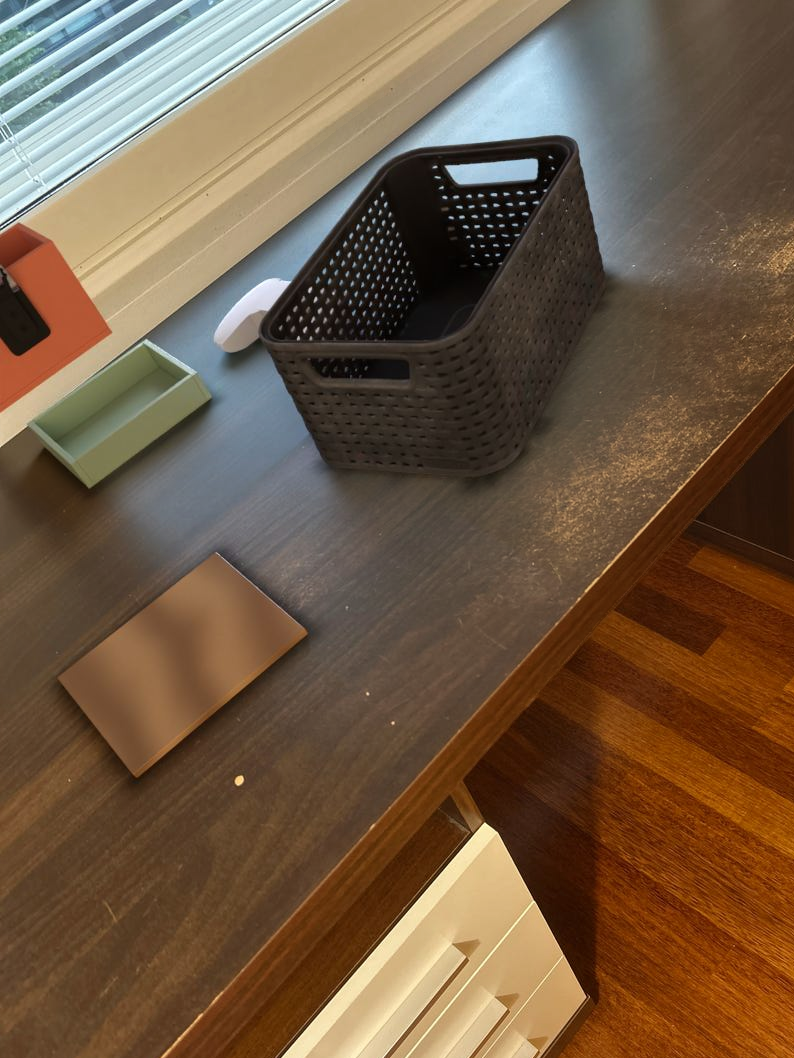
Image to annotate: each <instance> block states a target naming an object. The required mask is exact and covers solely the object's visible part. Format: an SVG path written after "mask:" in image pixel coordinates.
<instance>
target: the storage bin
mask: <svg viewBox="0 0 794 1058" xmlns="http://www.w3.org/2000/svg"><path fill="white" fill-rule="evenodd" d="M531 159H532V160H536V161H537V169H536V170H537V171H536V177H535V178H531V179H521V180H520V179H517V180H505V181H494V182H493V181H492V182H480V183H479V182H478V183H464V184H463V183H462V184H461V183H458V182H457V181H456V180H455V179H454V178H453V176H452V175H451V173H450V172H449V170H448V169H447V166H462V165H463V166H464V165H465V166H466V165H476V164H489V163H490V164H491V163H492V164H493V163H498V162H501V163H502V162H512V161H521V160H522V161H523V160H531ZM520 192H521V193H520ZM492 194H493V195H492ZM494 194H495V195H494ZM479 195H481V196H479ZM445 197H446V198H445ZM535 202H538V203H535ZM520 203H524V204H520ZM510 204H511V205H510ZM495 205H496V206H495ZM472 206H473V207H472ZM370 210H371V211H370ZM524 213H525V214H524ZM500 215H501V216H500ZM473 216H476V217H473ZM450 217H451V218H450ZM461 217H462V218H461ZM363 219H364V220H363ZM383 222H384V224H383ZM476 226H477V227H476ZM478 226H479V227H478ZM368 228H369V229H368ZM378 230H379V231H378ZM351 235H352V236H351ZM350 236H351V237H350ZM598 237H599V236H598V234H597V232H596V226H595V219H594V215H593V212H592V211H591V203H590V196H589V191H588V190H587V187H586V180H585V174H584V169H583V166H582V164H581V157H580V148H579V143H578V142H577V141H576V140H575V139H574V138H572V137H570V136H567V135H561V134H551V135H541V136H540V135H539V136H533V137H523V138H513V139H512V138H511V139H502V140H491V141H482V142H472V143H471V142H469V143H459V144H446V145H445V144H444V145H433V146H422V147H417V148H412V149H409V150H407V151H404V152H402V153H400V154H397V155H396V156H394V157H392V158H391V159H388V160H387V161H386V162H385V163H384V164H382V165H381V166H380V167H379V168H378V169H377V171H376V172H375V173H374V174H373V176H372V177H371V178H370V179H369V181H368V182H367V183H366V185H365V187H364V188H362V190H361V191H360V192H359V194H357V196H356V198H355V199H354V200H353V201H352V203H351V204H350V205H349V206H348V208H346V211H344V213H343V214H342V216H341V217H340V218H339V219H338V221H337V222H336V223H335V225H334V226H333V227H332V228H331V230H330V231H329V232H328V234H327V235H326V236H325V238H323V240H322V241H321V243H320V244H319V245H318V247H317V248H316V249H315V250H314V252H313V253H312V254H311V255H310V256H309V258H308V259H307V261H306V262H305V263H304V265H303V266H301V268H300V270H299V271H298V272H297V274H296V275H295V276H294V277H293V279H292V280H291V281H290V282H291V283H290V284H289V285H288V286H287V288H286V289H285V290H284V292H283V293H282V294H281V295H280V297H279V298H278V299H277V300H276V302H275V303H274V304H273V306H272V307H271V308H270V310H269V311H268V312H267V313H266V315H265V316H264V317H263V319H262V320H261V322H260V325H259V328H258V334H259V338H260V340H261V342H262V344H263V346H264V348H265V350H266V352H267V353H268V354H269V355H270V358H271V360H272V362H273V365H274V367H275V370H276V371H277V374H279V375H280V378H281V379H282V382H283V385H284V387H285V389H286V391H287V393H288V395H290V397H291V399H292V402H293V403H294V406H295V409H296V410H297V413H298V414H299V415H300V417H301V418H302V421H303V423H304V426H305V428H306V430H307V431H308V433H309V434H310V436H311V438H312V440H313V443H314V445H315V447H316V449H317V451H318V452H319V455H320V457H321V459H322V460H323V462H325V464H327V465H329V466H330V467H334V468H339V469H340V468H341V469H353V470H365V471H367V470H369V471H380V472H396V473H409V474H425V475H436V476H437V475H438V476H450V477H451V476H454V477H465V478H466V477H468V478H469V477H471V478H473V477H482V476H487V475H489V474H493V473H495V472H497V471H498V472H499V471H500V470H502V469H504V468H506V466H508V465H510V464H511V463H513V461H514V460H516V459H517V457H519V455H520V454H521V452H522V451H523V449H524V448H525V445H526V442H527V441H528V439H529V437H530V435H531V433H532V431H533V429H534V427H535V426H536V424H537V422H538V419H539V418H540V416H541V414H542V411H544V408H545V406H546V404H547V403H548V400H549V398H550V396H551V394H552V392H553V391H554V388H555V387H556V384H557V382H558V381H559V379H560V377H561V375H562V373H563V371H564V369H565V367H566V365H567V364H568V361H569V360H570V357H571V355H572V353H573V351H574V349H575V348H576V345H577V343H578V342H579V340H580V337H581V336H582V334H583V332H584V330H585V328H586V326H587V324H588V322H589V320H590V318H591V316H592V314H593V312H594V310H595V309H596V306H597V305H598V302H599V300H600V298H601V296H602V294H603V292H604V290H605V289H606V287H607V282H608V281H607V275H606V272H605V269H604V263H603V258H602V254H601V251H600V245H599V238H598ZM371 239H372V240H371ZM381 241H382V242H381ZM345 243H346V244H345ZM496 245H497V246H496ZM366 247H367V248H366ZM337 253H338V255H337ZM349 254H350V255H349ZM359 257H360V258H359ZM332 261H333V262H332ZM331 262H332V263H331ZM343 262H344V264H343ZM354 264H355V265H354ZM324 270H325V271H324ZM347 273H348V274H347ZM318 279H319V280H318ZM329 281H330V282H329ZM341 282H342V283H341ZM328 283H329V284H328ZM352 283H353V284H352ZM311 287H312V289H311V292H310V293H309V292H308V290H309V288H311ZM323 288H324V291H323V293H321V290H322V289H323ZM334 290H335V293H334V295H333V294H332V292H333V291H334ZM344 292H345V293H346V295H345V296H344ZM303 296H304V297H305V300H303V301H302V302H301V300H302V298H303ZM315 297H317V301H316V302H315V303H314V299H315ZM327 298H328V299H329V302H327V303H326V301H327ZM339 299H340V303H339V304H337V303H338V301H339ZM349 302H350V305H349ZM296 306H297V309H296V311H295V312H294V308H295V307H296ZM308 307H310V308H309V311H308V312H306V309H307V308H308ZM320 308H322V309H321V312H320V313H318V310H319V309H320ZM332 308H333V312H332V314H330V311H331V310H332ZM343 310H345V311H344V313H343V315H342V313H341V312H342V311H343ZM288 316H290V319H289V320H288V321H286V320H287V317H288ZM301 316H302V318H303V319H302V320H301V321H300V317H301ZM313 317H314V318H315V320H314V321H313V322H312V323H311V321H312V319H313ZM325 318H326V319H327V321H326V322H325V323H323V322H324V319H325ZM337 318H338V322H337V323H336V324H335V321H336V319H337ZM347 319H349V320H348V323H347V324H346V322H347ZM299 321H300V322H299ZM281 325H282V328H281V330H279V328H280V327H281ZM293 326H294V327H295V328H294V330H293V332H291V329H292V328H293ZM305 327H307V329H306V331H305V333H304V331H303V330H304V328H305ZM318 327H319V330H318V332H317V333H316V329H317V328H318ZM330 328H331V330H330V332H329V334H328V330H329V329H330ZM341 329H342V331H341V333H340V334H339V331H340V330H341ZM298 336H299V337H300V340H297V338H298ZM310 337H312V340H310ZM322 337H324V340H322ZM334 338H336V340H334ZM319 358H322V359H321V360H319ZM308 359H309V360H308ZM318 360H319V361H318Z"/></svg>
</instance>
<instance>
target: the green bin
mask: <svg viewBox="0 0 794 1058" xmlns="http://www.w3.org/2000/svg"><path fill="white" fill-rule="evenodd" d="M212 398H213V395H212V394H211V393H210V391H209V389H208V387H206V385H205V383H204V381H203V379H202V378H201V376H200V374H199V373H198V372H197V371H196V370H194V369H193V368H191V367H190V366H188V365H186V364H185V363H183V362H182V361H181V360H179V359H177V358H176V357H174V356H173V355H171V354H169V353H168V352H167V351H165V350H163V349H162V348H161V347H159V346H157V345H156V344H155V343H153V342H152V341H150V340H148V339H147V338H145V339H144V340H143V341H141V342H140V343H138V344H137V345H135V346H134V347H133V348H131V349H130V350H129V351H127V352H126V353H125V354H123V355H121V356H119V358H117V359H115V361H113V362H112V363H110V364H109V365H107V366H106V367H105V368H103V369H102V370H100V371H99V372H98V373H96V374H95V375H93V376H92V377H90V378H89V379H88V380H86V381H85V382H84V383H82V384H81V385H79V386H77V387H76V388H75V389H73V390H72V391H71V392H69V393H68V394H66V395H64V396H63V397H62V398H61V399H59V400H58V401H57V402H55V403H53V404H52V405H50V406H49V407H48V408H47V409H45V410H44V411H42V412H41V413H39V414H38V415H37V416H35V417H34V418H33V419H32V420H30V421H28V422H27V423H26V426H27V427H28V428H29V429H30V430H31V432H32V433H33V434H34V436H35V437H36V438H37V440H38V441H40V444H41V445H42V446H43V447H44V448H45V449H46V450H47V451H49V453H51V454H52V455H53V456H54V457H55V458H56V459H57V460H58V461H59V462H60V463H61V464H62V465H64V466H65V468H67V469H68V470H69V471H70V472H71V473H72V474H73V475H74V476H75V477H76V478H77V479H78V480H79V481H80V482H82V483H83V484H84V485H85V486H86V487H87V488H88V489H92V487H94V486H95V485H96V484H98V483H99V482H100V481H101V480H103V479H104V478H106V477H107V476H108V475H110V474H111V473H112V472H114V471H115V470H117V469H118V468H119V467H121V466H122V465H124V463H126V462H127V461H128V460H130V459H132V458H133V457H134V456H135V455H137V454H138V453H139V452H142V450H143V449H145V448H146V447H148V446H149V445H150V444H152V443H153V442H154V441H155V440H158V438H160V437H161V436H162V435H164V434H165V433H166V432H168V431H169V430H171V429H172V428H173V427H174V426H176V425H177V424H178V423H180V422H181V421H182V420H184V419H186V417H188V416H189V415H191V414H192V413H193V412H194V411H196V410H197V409H199V408H200V407H201V406H203V405H204V404H205V403H207V402H208V401H209V400H211V399H212Z"/></svg>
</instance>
